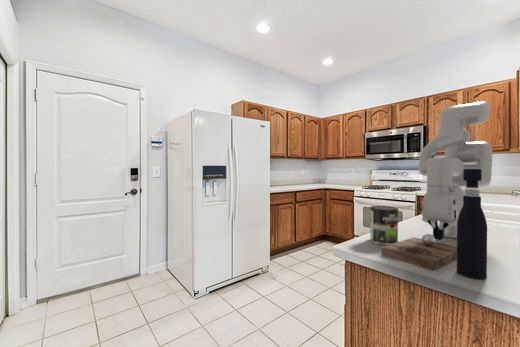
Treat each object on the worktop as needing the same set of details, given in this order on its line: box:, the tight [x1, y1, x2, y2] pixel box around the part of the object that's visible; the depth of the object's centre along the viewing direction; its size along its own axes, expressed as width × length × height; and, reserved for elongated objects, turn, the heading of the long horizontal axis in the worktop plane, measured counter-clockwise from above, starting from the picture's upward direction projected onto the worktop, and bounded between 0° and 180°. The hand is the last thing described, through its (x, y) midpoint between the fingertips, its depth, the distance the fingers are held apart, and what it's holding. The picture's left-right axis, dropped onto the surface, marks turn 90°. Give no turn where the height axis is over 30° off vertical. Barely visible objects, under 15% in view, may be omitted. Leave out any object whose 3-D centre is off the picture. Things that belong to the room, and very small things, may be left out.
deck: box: [380, 237, 457, 271], centre depth 84 cm, size 22×16×2 cm
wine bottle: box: [456, 169, 488, 280], centre depth 68 cm, size 6×6×30 cm
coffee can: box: [369, 205, 399, 246], centre depth 99 cm, size 10×10×14 cm
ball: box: [421, 233, 436, 246], centre depth 86 cm, size 4×4×4 cm
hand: (438, 239), depth 90 cm, fingers closed
